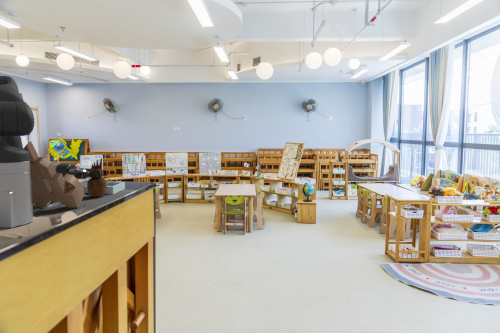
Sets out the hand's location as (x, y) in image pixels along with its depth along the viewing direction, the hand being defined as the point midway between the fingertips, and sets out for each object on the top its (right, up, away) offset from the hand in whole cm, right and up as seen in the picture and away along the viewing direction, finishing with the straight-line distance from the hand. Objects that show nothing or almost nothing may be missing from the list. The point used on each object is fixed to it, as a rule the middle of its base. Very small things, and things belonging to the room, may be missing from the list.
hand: (103, 173), depth 122 cm
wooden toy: (-8, -9, -15) cm, 19 cm away
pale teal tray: (-5, -8, +12) cm, 15 cm away
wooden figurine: (-3, -9, +1) cm, 10 cm away
